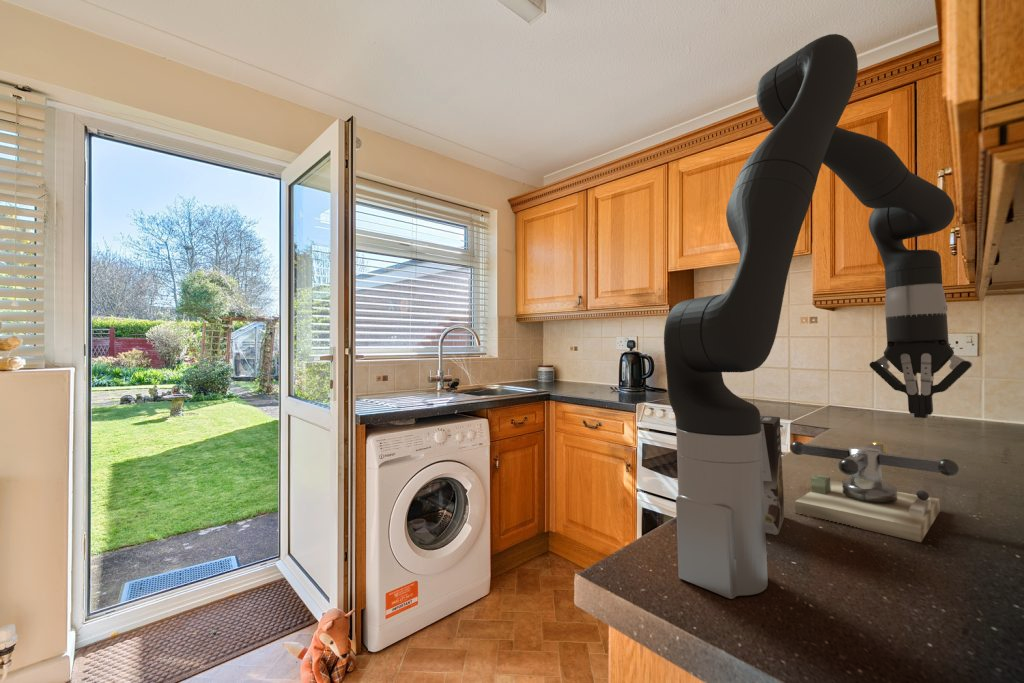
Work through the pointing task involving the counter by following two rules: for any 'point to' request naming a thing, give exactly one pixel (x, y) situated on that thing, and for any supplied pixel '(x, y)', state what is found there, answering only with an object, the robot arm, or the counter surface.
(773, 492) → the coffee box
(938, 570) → the counter surface
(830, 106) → the robot arm
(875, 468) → the capstan
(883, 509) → the stand
